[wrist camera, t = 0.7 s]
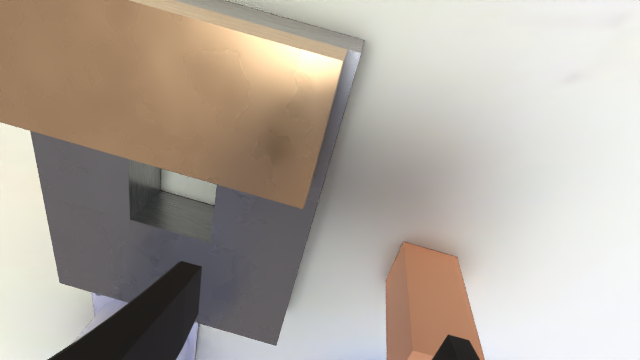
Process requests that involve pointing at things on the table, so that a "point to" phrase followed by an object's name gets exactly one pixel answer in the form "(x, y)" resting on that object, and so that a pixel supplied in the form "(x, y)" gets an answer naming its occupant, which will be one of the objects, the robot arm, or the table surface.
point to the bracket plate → (182, 229)
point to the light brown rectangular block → (426, 304)
